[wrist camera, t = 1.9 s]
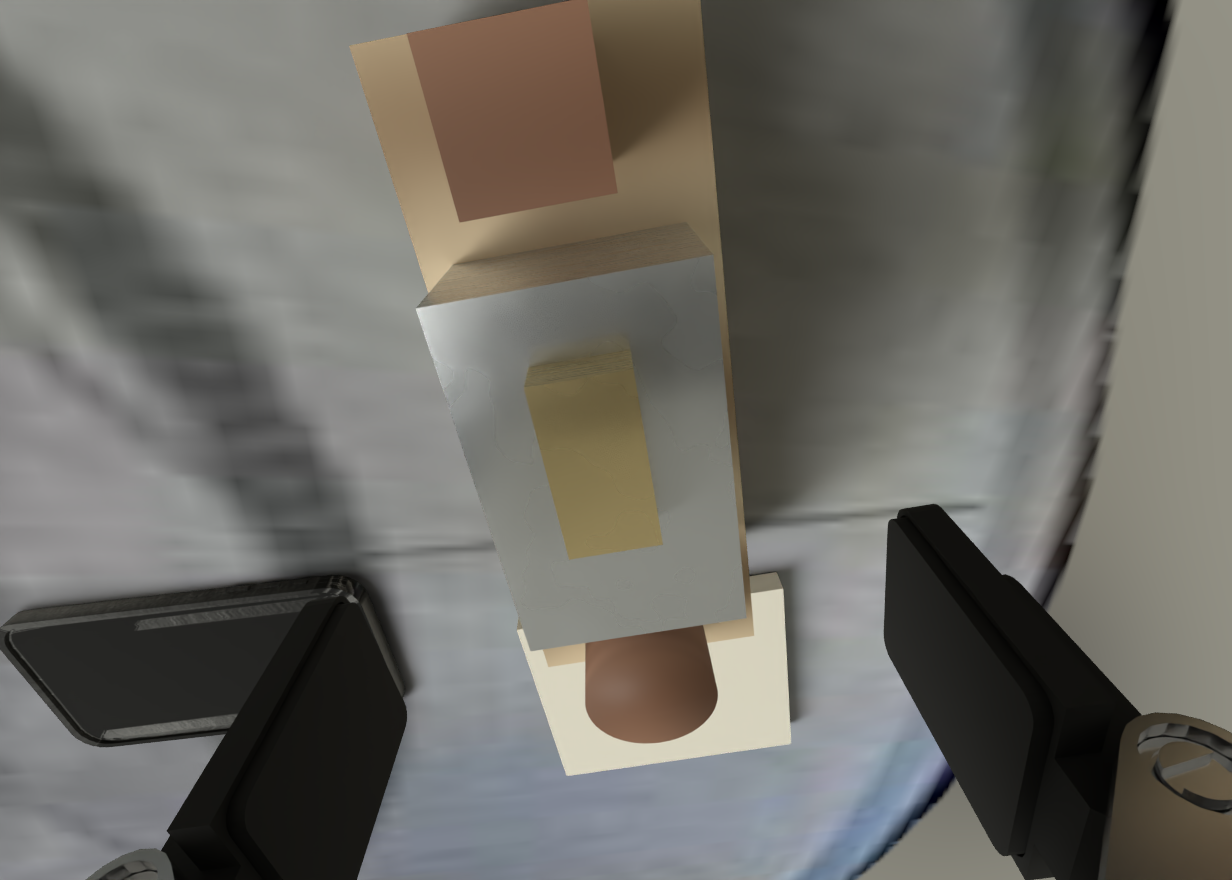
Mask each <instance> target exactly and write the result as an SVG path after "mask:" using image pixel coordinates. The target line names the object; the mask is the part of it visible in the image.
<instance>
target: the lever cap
mask: <svg viewBox="0 0 1232 880" xmlns="http://www.w3.org/2000/svg"><path fill="white" fill-rule="evenodd" d="M416 311H417V314H418V317H419V320H420V323H421V326H422V329H423V332H424V335H425V338H426V341H427V344H428V347H429V350H430V353H431V356H432V359H433V362H434V365H435V368H436V371H437V374H438V376H439V379H440V382H441V385H442V388H443V391H444V394H445V397H446V400H447V403H448V406H449V409H450V412H451V415H452V418H453V421H454V424H455V427H456V430H457V433H458V436H459V439H460V442H461V445H462V448H463V451H464V454H465V457H466V460H467V463H468V466H469V469H470V472H471V475H472V478H473V481H474V484H475V487H476V490H477V493H478V496H479V499H480V502H481V505H482V508H483V511H484V514H485V517H486V520H487V523H488V526H489V529H490V532H491V535H492V538H493V541H494V544H495V547H496V550H497V553H498V556H499V559H500V562H501V565H502V568H503V571H504V574H505V577H506V580H507V583H508V586H509V589H510V592H511V595H512V598H513V601H514V604H515V607H516V610H517V613H518V616H519V619H520V622H521V625H522V628H523V631H524V634H525V637H526V640H527V642H528V645H529V648H530V651H537V650H543V649H550V648H556V647H563V646H569V645H576V644H582V643H589V642H595V641H602V640H608V639H615V638H621V637H628V636H634V635H641V634H647V633H654V632H660V631H667V630H673V629H680V628H686V627H693V626H699V625H706V624H712V623H719V622H725V621H732V620H738V619H745V618H747V616H746V605H745V594H744V584H743V573H742V562H741V551H740V540H739V529H738V518H737V507H736V496H735V485H734V474H733V464H732V453H731V442H730V431H729V420H728V409H727V398H726V387H725V376H724V365H723V354H722V344H721V333H720V322H719V311H718V300H717V289H716V278H715V267H714V256H713V254H712V252H711V251H710V250H709V249H708V248H707V246H706V245H705V244H704V243H703V242H702V240H701V239H700V238H699V237H698V236H697V234H696V233H695V232H694V231H693V230H692V228H691V227H690V226H689V225H688V223H687V222H683V223H677V224H672V225H666V226H661V227H655V228H650V229H645V230H639V231H634V232H628V233H623V234H617V235H612V236H606V237H601V238H596V239H590V240H585V241H579V242H574V243H568V244H563V245H558V246H552V247H547V248H541V249H536V250H530V251H525V252H520V253H514V254H509V255H503V256H498V257H492V258H487V259H481V260H476V261H471V262H465V263H460V264H454V265H452V266H451V267H450V268H449V270H448V271H447V272H446V273H445V274H444V276H443V277H442V278H441V279H440V280H439V282H438V283H437V284H436V285H435V286H434V287H433V289H432V290H431V291H430V292H429V293H428V295H427V296H426V297H425V298H424V299H423V301H422V302H421V303H420V304H419V305H418V307H417V308H416Z"/></svg>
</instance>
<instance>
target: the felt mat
mask: <svg viewBox="0 0 1232 880" xmlns="http://www.w3.org/2000/svg"><path fill="white" fill-rule="evenodd" d="M749 579H750V590H751V602H752V614H753V626H754V636H750V637H743V638H737V639H730V640H723V641H717V642H710V643H707V645H708V649H709V654H710V658H711V663H712V667H713V672H714V676H715V681H716V685H717V690H718V700H717V704H716V707H715V709H714V711H713V713H712V715H711V716H710V717H709V719H708V720H707V721H706V722H705V723H704V724H703V725H701V726H700V727H699V728H698V729H696V730H694V731H693V732H691V733H689V734H687V735H685V736H683V737H680V738H677V739H674V740H671V741H666V742H661V743H648V744H643V743H633V742H627V741H623V740H619V739H617V738H614V737H612V736H610V735H608V734H606V733H604V732H603V731H601V730H600V729H599V728H598V727H596V726H595V724H594V723H593V722H592V721H591V719H590V718H589V716H588V714H587V711H586V707H585V662H579V663H572V664H566V665H559V666H553V667H548V664H547V661H546V658H545V655H544V652H543V650H537V651H530V648H529V645H528V642H527V640H526V637H525V634H524V631H523V628H522V625H521V622H520V619H519V618H518V626H517V632H518V634H519V637H520V640H521V643H522V646H523V649H524V652H525V655H526V658H527V661H528V664H529V667H530V670H531V673H532V675H533V678H534V681H535V684H536V687H537V690H538V693H539V696H540V699H541V702H542V705H543V708H544V711H545V714H546V716H547V719H548V722H549V725H550V728H551V731H552V734H553V737H554V740H555V743H556V746H557V749H558V752H559V755H560V757H561V760H562V763H563V766H564V769H565V772H566V775H567V776H571V775H578V774H585V773H592V772H599V771H606V770H613V769H620V768H626V767H633V766H640V765H647V764H654V763H661V762H668V761H675V760H682V759H689V758H696V757H703V756H710V755H717V754H724V753H731V752H738V751H745V750H752V749H759V748H766V747H773V746H780V745H787V744H791V731H790V712H789V692H788V672H787V653H786V633H785V614H784V594H783V587H782V584H781V582H780V579H779V577H778V574H777V572H774V573H767V574H761V575H755V576H749Z"/></svg>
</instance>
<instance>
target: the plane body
mask: <svg viewBox="0 0 1232 880" xmlns="http://www.w3.org/2000/svg"><path fill="white" fill-rule="evenodd" d="M350 50H351V53H352V56H353V59H354V62H355V65H356V68H357V71H358V74H359V78H360V81H361V84H362V87H363V90H364V93H365V96H366V99H367V103H368V106H369V109H370V112H371V115H372V118H373V121H374V124H375V128H376V131H377V134H378V137H379V140H380V143H381V146H382V149H383V153H384V156H385V159H386V162H387V165H388V168H389V171H390V174H391V178H392V181H393V184H394V187H395V190H396V193H397V196H398V199H399V202H400V206H401V209H402V212H403V215H404V218H405V221H406V224H407V227H408V231H409V234H410V237H411V240H412V243H413V246H414V249H415V252H416V256H417V259H418V262H419V265H420V268H421V271H422V274H423V277H424V281H425V284H426V287H427V290H428V293H429V292H430V291H431V290H432V289H433V287H434V286H435V285H436V284H437V283H438V282H439V280H440V279H441V278H442V277H443V276H444V274H445V273H446V272H447V271H448V270H449V268H450V267H451V266H452V265H454V264H460V263H465V262H471V261H476V260H481V259H487V258H492V257H498V256H503V255H509V254H514V253H520V252H525V251H530V250H536V249H541V248H547V247H552V246H558V245H563V244H568V243H574V242H579V241H585V240H590V239H596V238H601V237H606V236H612V235H617V234H623V233H628V232H634V231H639V230H645V229H650V228H655V227H661V226H666V225H672V224H677V223H683V222H687V223H688V225H689V226H690V227H691V228H692V230H693V231H694V232H695V233H696V234H697V236H698V237H699V238H700V239H701V240H702V242H703V243H704V244H705V245H706V246H707V248H708V249H709V250H710V251H711V252H712V254H713V256H714V267H715V278H716V289H717V300H718V311H719V322H720V333H721V344H722V354H723V365H724V376H725V387H726V398H727V409H728V420H729V431H730V442H731V453H732V464H733V474H734V485H735V496H736V507H737V518H738V529H739V540H740V551H741V562H742V573H743V584H744V594H745V605H746V616H747V618H745V619H738V620H732V621H725V622H719V623H712V624H706V625H699V626H693V627H686V628H680V629H673V630H667V631H660V632H654V633H647V634H641V635H634V636H628V637H621V638H615V639H608V640H602V641H595V642H589V643H582V644H576V645H569V646H563V647H556V648H550V649H543V652H544V655H545V658H546V661H547V664H548V667H553V666H559V665H566V664H572V663H579V662H585V707H586V711H587V714H588V716H589V718H590V719H591V721H592V722H593V723H594V724H595V726H596V727H598V728H599V729H600V730H601V731H603V732H604V733H606V734H608V735H610V736H612V737H614V738H617V739H619V740H623V741H627V742H633V743H643V744H648V743H661V742H666V741H671V740H674V739H677V738H680V737H683V736H685V735H687V734H689V733H691V732H693V731H694V730H696V729H698V728H699V727H700V726H701V725H703V724H704V723H705V722H706V721H707V720H708V719H709V717H710V716H711V715H712V713H713V711H714V709H715V707H716V704H717V700H718V690H717V685H716V681H715V676H714V672H713V667H712V663H711V658H710V654H709V649H708V645H707V643H710V642H717V641H723V640H730V639H737V638H743V637H750V636H754V626H753V614H752V602H751V590H750V579H749V567H748V555H747V543H746V532H745V520H744V508H743V496H742V485H741V473H740V461H739V449H738V438H737V426H736V414H735V402H734V391H733V379H732V367H731V355H730V344H729V332H728V320H727V308H726V297H725V285H724V273H723V261H722V250H721V238H720V226H719V214H718V203H717V191H716V179H715V167H714V156H713V144H712V132H711V120H710V108H709V97H708V85H707V73H706V61H705V50H704V38H703V26H702V14H701V3H700V0H570V1H565V2H560V3H555V4H550V5H545V6H540V7H535V8H530V9H525V10H520V11H515V12H510V13H505V14H500V15H496V16H491V17H486V18H481V19H476V20H471V21H466V22H461V23H456V24H451V25H446V26H441V27H436V28H431V29H426V30H421V31H416V32H412V33H407V34H405V35H400V36H395V37H390V38H385V39H380V40H375V41H370V42H365V43H360V44H356V45H351V46H350Z"/></svg>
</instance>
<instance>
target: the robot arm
mask: <svg viewBox="0 0 1232 880" xmlns="http://www.w3.org/2000/svg"><path fill="white" fill-rule="evenodd" d="M884 641H885V646H886V649H887V652H888V655H889V657H890V659H891V661H892V662H893V664H894V666H895V668H896V670H897V671H898V673H899V675H900V677H901V679H902V681H903V682H904V684H905V686H906V688H907V690H908V691H909V693H910V695H911V697H912V699H913V701H914V702H915V704H916V706H917V708H918V710H919V711H920V713H921V715H922V717H923V719H924V721H925V722H926V724H927V726H928V728H929V730H930V731H931V733H932V735H933V737H934V739H935V741H936V742H937V744H938V746H939V748H940V750H941V751H942V753H943V755H944V757H945V759H946V761H947V762H948V764H949V766H950V768H951V770H952V771H953V773H954V775H955V777H956V779H957V781H958V782H959V784H960V786H961V788H962V789H963V791H964V793H965V795H966V797H967V799H968V800H969V802H970V804H971V806H972V808H973V809H974V811H975V813H976V815H977V817H978V818H979V820H980V822H981V824H982V826H983V828H984V829H985V831H986V833H987V835H988V837H989V838H990V840H991V842H992V844H993V846H994V847H995V849H996V850H997V851H998V852H999V853H1000V854H1001V855H1002V856H1008V855H1011V856H1012V858H1013V859H1014V861H1015V863H1016V865H1017V866H1018V868H1019V870H1020V872H1021V874H1022V875H1023V877H1024V879H1025V880H1034V879H1042V878H1050V877H1055V879H1056V880H1232V733H1231V732H1229V731H1227V730H1225V729H1223V728H1220V727H1218V726H1216V725H1213V724H1211V723H1209V722H1206V721H1204V720H1201V719H1197V718H1193V717H1189V716H1185V715H1181V714H1177V713H1156V712H1155V713H1150V714H1146V715H1141V714H1140V713H1139V712H1138V710H1137V709H1136V708H1135V707H1134V706H1133V705H1132V704H1131V703H1130V702H1129V701H1128V700H1127V699H1126V697H1125V696H1124V695H1123V694H1122V693H1121V692H1120V691H1119V690H1118V689H1117V688H1116V687H1115V686H1114V684H1113V683H1112V682H1111V681H1110V680H1109V679H1108V678H1107V677H1106V676H1105V675H1104V674H1103V672H1102V671H1100V669H1099V668H1098V667H1097V666H1096V665H1095V664H1094V663H1093V662H1092V661H1091V659H1090V658H1089V657H1088V656H1087V655H1086V654H1085V653H1084V652H1083V651H1082V650H1081V649H1080V648H1079V646H1078V645H1077V644H1076V643H1075V642H1074V641H1073V640H1072V639H1071V638H1070V637H1069V636H1068V635H1067V634H1066V632H1065V631H1064V630H1063V629H1062V628H1061V627H1060V626H1059V625H1058V624H1057V623H1056V622H1055V621H1054V620H1053V618H1052V617H1051V616H1050V615H1049V614H1048V613H1047V612H1046V611H1045V610H1044V609H1043V608H1042V606H1041V605H1040V604H1039V603H1038V602H1037V601H1036V600H1035V599H1034V598H1033V597H1032V596H1031V595H1030V593H1029V592H1028V591H1027V590H1026V589H1025V588H1024V587H1023V586H1022V585H1021V584H1020V583H1019V582H1018V581H1017V580H1015V579H1014V578H1013V577H1011V576H1008V575H1006V574H1005V575H1001V573H1000V572H999V571H998V570H997V569H996V568H995V567H994V566H993V565H992V563H991V562H990V561H989V560H988V559H987V558H986V557H985V556H984V555H983V553H982V552H981V551H980V550H979V549H978V548H977V547H976V546H975V545H974V543H973V542H972V541H971V540H970V539H969V538H968V537H967V536H966V535H965V533H964V532H963V531H962V530H961V529H960V528H959V527H958V526H957V525H956V523H955V522H954V521H953V520H952V519H951V518H950V517H949V516H948V515H947V513H946V512H945V511H944V510H943V509H942V508H941V507H940V506H939V505H936V504H930V505H924V506H918V507H911V508H905V509H901V510H899V512H898V516H897V519H891V520H890V521H889V523H888V534H887V561H886V588H885V615H884ZM406 722H407V710H406V705H405V703H404V700H403V698H402V696H401V694H400V692H399V690H398V688H397V686H396V684H395V681H394V679H393V677H392V675H391V673H390V671H389V669H388V667H387V664H386V662H385V660H384V658H383V656H382V654H381V652H380V650H379V648H378V645H377V643H376V641H375V639H374V637H373V635H372V633H371V631H370V629H369V626H368V624H367V622H366V620H365V618H364V616H363V614H362V612H361V609H360V608H359V606H358V605H357V604H356V603H353V602H352V603H350V602H349V600H348V599H347V598H346V597H344V596H336V597H330V598H323V599H317V600H311V601H309V602H307V603H306V604H305V606H304V607H303V609H302V610H301V612H300V613H299V615H298V617H297V618H296V620H295V622H294V623H293V625H292V627H291V628H290V630H289V631H288V633H287V635H286V636H285V638H284V640H283V641H282V643H281V645H280V646H279V648H278V649H277V651H276V653H275V654H274V656H273V658H272V659H271V661H270V663H269V664H268V666H267V667H266V669H265V671H264V672H263V674H262V676H261V677H260V679H259V681H258V682H257V684H256V686H255V687H254V689H253V690H252V692H251V694H250V695H249V697H248V699H247V700H246V702H245V704H244V705H243V707H242V708H241V710H240V712H239V713H238V715H237V717H236V718H235V720H234V722H233V723H232V725H231V726H230V728H229V730H228V731H227V733H226V735H225V736H224V738H223V740H222V741H221V743H220V744H219V746H218V748H217V749H216V751H215V753H214V754H213V756H212V758H211V759H210V761H209V762H208V764H207V766H206V767H205V769H204V771H203V772H202V774H201V776H200V777H199V779H198V781H197V782H196V784H195V785H194V787H193V789H192V790H191V792H190V794H189V795H188V797H187V799H186V800H185V802H184V803H183V805H182V807H181V808H180V810H179V812H178V813H177V815H176V817H175V818H174V820H173V821H172V823H171V825H170V826H169V828H168V830H167V832H168V833H169V834H170V837H169V838H168V840H167V842H166V843H165V845H164V847H163V848H162V850H161V851H160V850H157V849H139V850H136V851H134V852H131V853H128V854H125V855H122V856H120V857H119V858H117V859H115V860H113V861H111V862H110V863H108V864H106V865H104V866H103V867H102V868H100V869H99V870H98V871H96V872H95V873H94V874H92V875H91V876H90V877H89V878H87V879H86V880H357V877H358V874H359V871H360V868H361V865H362V862H363V859H364V855H365V852H366V849H367V846H368V843H369V840H370V837H371V833H372V830H373V827H374V824H375V821H376V818H377V815H378V812H379V808H380V805H381V802H382V799H383V796H384V793H385V790H386V786H387V783H388V780H389V777H390V774H391V771H392V768H393V765H394V761H395V758H396V755H397V752H398V749H399V746H400V743H401V739H402V736H403V733H404V730H405V727H406Z"/></svg>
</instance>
